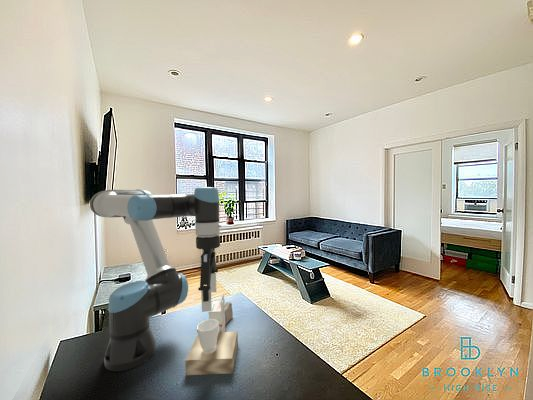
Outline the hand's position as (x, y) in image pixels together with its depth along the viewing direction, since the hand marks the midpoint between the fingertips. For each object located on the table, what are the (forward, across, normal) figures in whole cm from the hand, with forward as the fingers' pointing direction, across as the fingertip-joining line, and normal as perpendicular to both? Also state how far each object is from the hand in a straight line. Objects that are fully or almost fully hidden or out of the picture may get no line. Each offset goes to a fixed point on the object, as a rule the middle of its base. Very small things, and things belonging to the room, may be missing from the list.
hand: (209, 300), depth 75 cm
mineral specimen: (+20, +22, -1) cm, 30 cm away
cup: (+15, 0, 0) cm, 15 cm away
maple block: (+20, +1, -1) cm, 20 cm away
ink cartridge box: (+20, +13, -1) cm, 23 cm away
